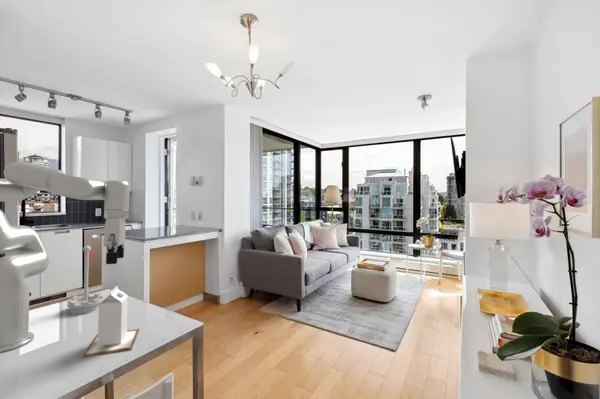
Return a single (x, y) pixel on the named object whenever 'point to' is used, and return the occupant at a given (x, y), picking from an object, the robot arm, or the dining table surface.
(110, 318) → the milk carton
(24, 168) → the robot arm
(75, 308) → the flag stand
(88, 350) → the clipboard
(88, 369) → the dining table surface
